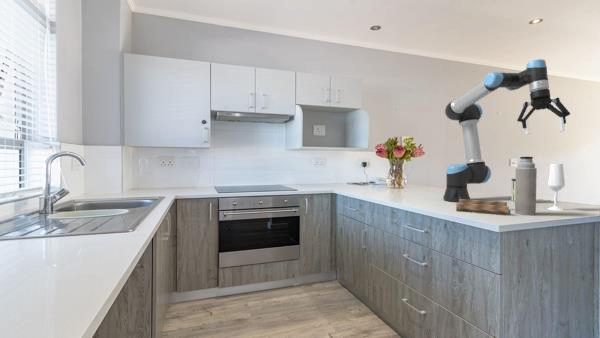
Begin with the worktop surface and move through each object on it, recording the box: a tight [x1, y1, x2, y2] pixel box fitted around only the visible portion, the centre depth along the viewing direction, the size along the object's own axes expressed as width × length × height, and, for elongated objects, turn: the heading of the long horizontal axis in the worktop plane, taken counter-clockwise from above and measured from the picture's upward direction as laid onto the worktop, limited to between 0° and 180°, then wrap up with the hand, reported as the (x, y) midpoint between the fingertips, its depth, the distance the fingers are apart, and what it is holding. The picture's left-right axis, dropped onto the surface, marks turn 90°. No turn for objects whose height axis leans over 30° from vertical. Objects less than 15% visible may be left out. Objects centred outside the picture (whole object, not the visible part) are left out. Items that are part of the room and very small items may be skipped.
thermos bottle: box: [514, 156, 538, 216], centre depth 139 cm, size 8×8×28 cm
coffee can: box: [511, 178, 516, 203], centre depth 174 cm, size 10×10×14 cm
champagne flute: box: [547, 163, 566, 212], centre depth 148 cm, size 7×7×24 cm
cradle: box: [455, 199, 510, 216], centre depth 150 cm, size 22×18×4 cm
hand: (544, 132), depth 140 cm, fingers open, 13 cm apart
